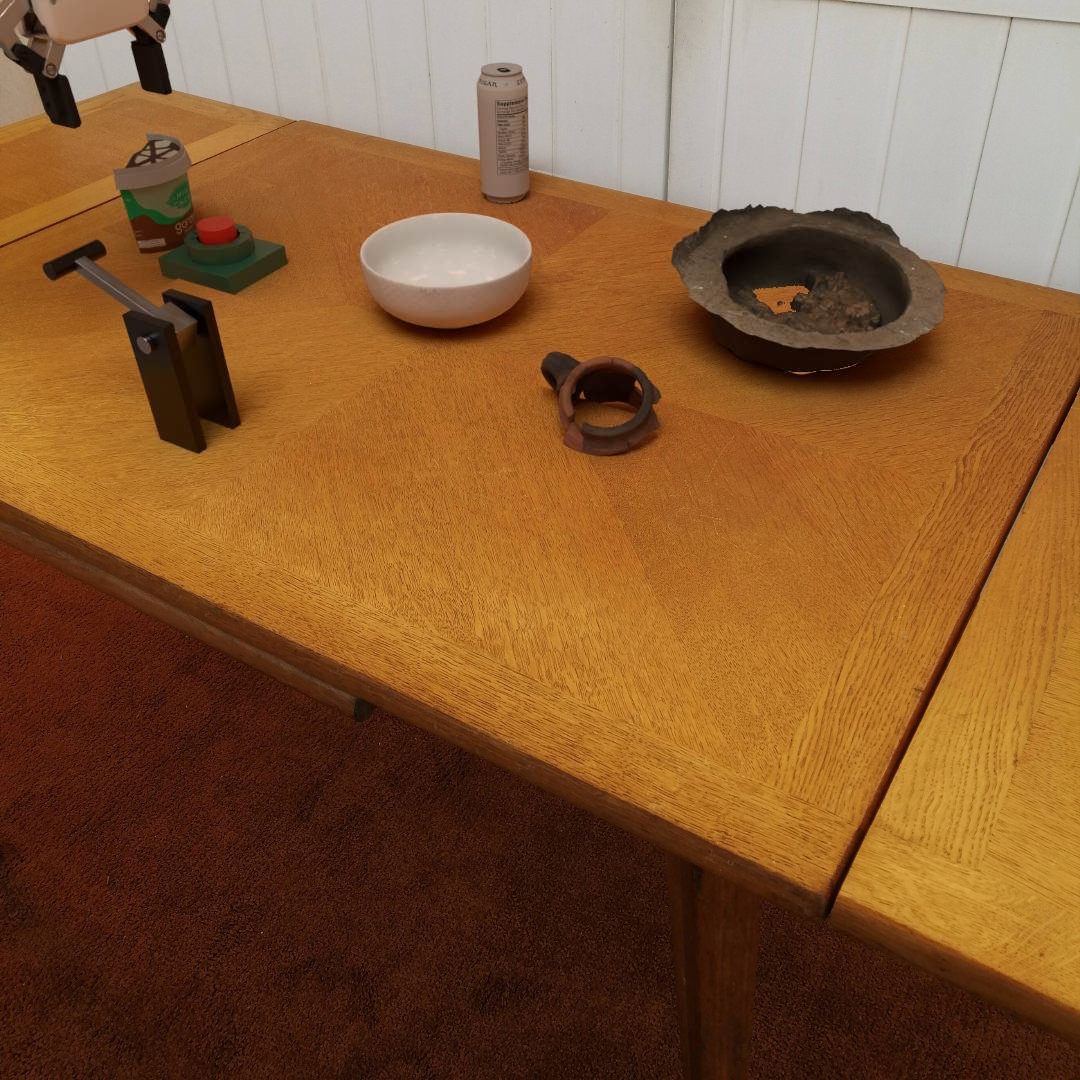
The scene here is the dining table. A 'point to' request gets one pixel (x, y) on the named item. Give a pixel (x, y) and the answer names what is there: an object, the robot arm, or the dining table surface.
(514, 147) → the energy drink can
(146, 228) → the food container
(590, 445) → the pottery mug
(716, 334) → the stone bowl
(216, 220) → the button
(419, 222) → the cereal bowl
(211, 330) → the bracket
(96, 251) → the lever
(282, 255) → the button box
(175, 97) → the dining table surface
